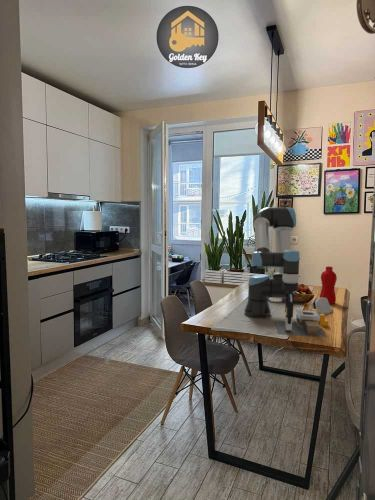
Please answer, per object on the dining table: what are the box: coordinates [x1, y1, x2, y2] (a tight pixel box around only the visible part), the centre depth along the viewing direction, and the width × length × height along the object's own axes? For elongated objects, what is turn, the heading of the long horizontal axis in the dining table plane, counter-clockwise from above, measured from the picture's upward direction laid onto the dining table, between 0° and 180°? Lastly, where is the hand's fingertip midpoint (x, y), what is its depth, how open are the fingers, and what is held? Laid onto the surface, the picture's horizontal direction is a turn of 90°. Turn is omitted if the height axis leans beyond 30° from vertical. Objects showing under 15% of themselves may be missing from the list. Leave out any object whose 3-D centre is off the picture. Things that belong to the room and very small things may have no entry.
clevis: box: [295, 309, 321, 336], centre depth 176 cm, size 10×20×7 cm, turn 170°
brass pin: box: [284, 307, 291, 333], centre depth 171 cm, size 4×4×12 cm
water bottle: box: [319, 266, 338, 305], centre depth 236 cm, size 9×11×25 cm
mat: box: [274, 320, 327, 338], centre depth 177 cm, size 22×23×1 cm
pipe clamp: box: [310, 308, 329, 327], centre depth 188 cm, size 12×4×6 cm, turn 2°
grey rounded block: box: [310, 297, 334, 315], centre depth 211 cm, size 17×5×10 cm, turn 134°
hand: (288, 328), depth 171 cm, fingers closed on brass pin, 3 cm apart
